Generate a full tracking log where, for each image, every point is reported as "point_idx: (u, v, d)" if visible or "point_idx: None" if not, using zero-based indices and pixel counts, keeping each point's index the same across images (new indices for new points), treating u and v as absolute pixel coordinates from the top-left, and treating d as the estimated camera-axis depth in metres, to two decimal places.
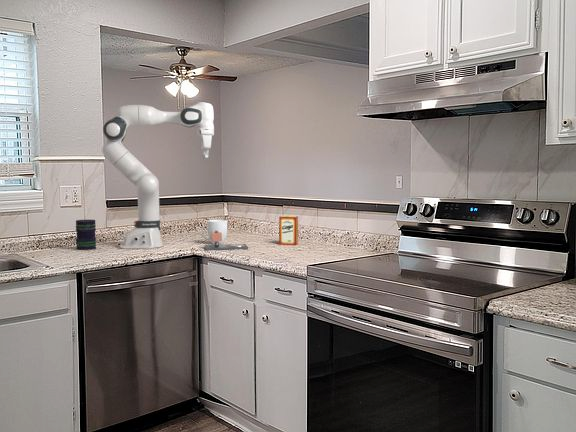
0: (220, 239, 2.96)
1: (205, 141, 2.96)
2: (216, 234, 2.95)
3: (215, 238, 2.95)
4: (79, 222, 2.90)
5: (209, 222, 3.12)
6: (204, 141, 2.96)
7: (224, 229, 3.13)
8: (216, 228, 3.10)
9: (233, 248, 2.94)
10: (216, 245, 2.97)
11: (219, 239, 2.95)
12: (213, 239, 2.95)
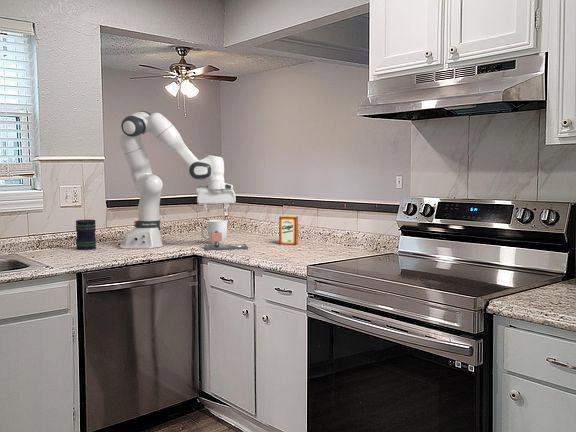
0: (220, 239, 2.96)
1: None
2: (216, 234, 2.95)
3: (215, 238, 2.95)
4: (79, 222, 2.90)
5: (209, 222, 3.12)
6: None
7: (224, 229, 3.13)
8: (216, 228, 3.10)
9: (233, 248, 2.94)
10: (216, 245, 2.97)
11: (219, 239, 2.95)
12: (213, 239, 2.95)
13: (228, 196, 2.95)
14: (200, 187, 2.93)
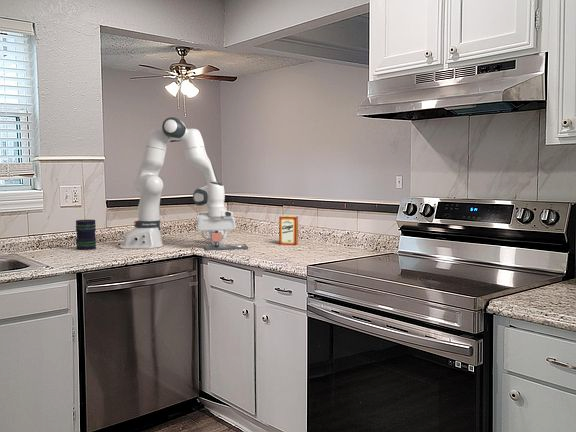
0: (220, 239, 2.96)
1: (235, 223, 2.98)
2: (216, 234, 2.95)
3: (215, 238, 2.95)
4: (79, 222, 2.90)
5: None
6: (235, 223, 2.98)
7: None
8: None
9: (233, 248, 2.94)
10: (216, 245, 2.97)
11: (219, 239, 2.95)
12: (213, 239, 2.95)
13: (228, 223, 2.97)
14: (200, 214, 2.94)
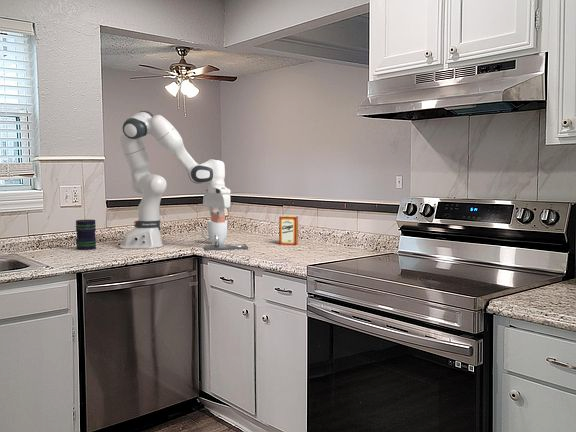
0: (216, 221, 2.95)
1: (225, 201, 2.88)
2: (214, 215, 2.96)
3: (213, 219, 2.97)
4: (79, 222, 2.90)
5: (209, 222, 3.12)
6: (225, 201, 2.88)
7: (224, 229, 3.13)
8: (216, 228, 3.10)
9: (233, 248, 2.94)
10: (216, 245, 2.97)
11: (215, 220, 2.96)
12: (211, 219, 2.98)
13: (220, 201, 2.90)
14: (206, 190, 3.02)
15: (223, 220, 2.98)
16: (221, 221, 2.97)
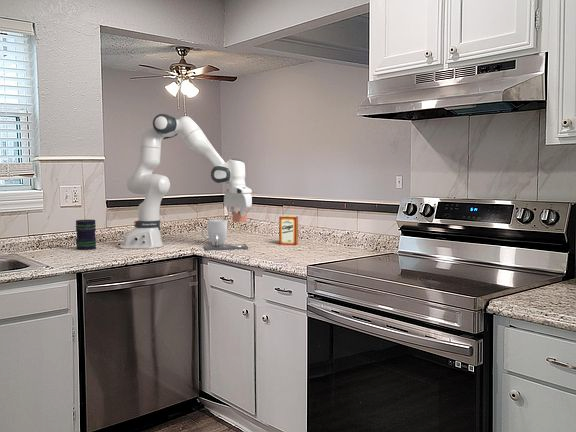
0: (238, 220, 2.98)
1: (247, 201, 2.90)
2: (235, 214, 2.99)
3: (234, 218, 2.99)
4: (79, 222, 2.90)
5: (209, 222, 3.12)
6: (246, 201, 2.90)
7: (224, 229, 3.13)
8: (216, 228, 3.10)
9: (233, 248, 2.94)
10: (216, 245, 2.97)
11: (237, 220, 2.98)
12: (233, 219, 3.00)
13: (241, 200, 2.93)
14: (227, 190, 3.04)
15: (244, 219, 3.00)
16: (243, 220, 2.99)
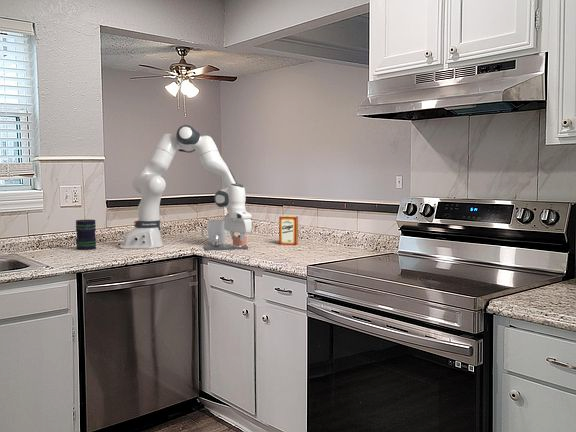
0: (238, 244, 2.98)
1: (247, 226, 2.91)
2: (235, 238, 2.99)
3: (235, 242, 3.00)
4: (79, 222, 2.90)
5: (209, 222, 3.12)
6: (246, 226, 2.91)
7: (224, 229, 3.13)
8: (216, 228, 3.10)
9: (233, 248, 2.94)
10: (216, 245, 2.97)
11: (237, 243, 2.99)
12: (233, 243, 3.01)
13: (241, 226, 2.94)
14: (227, 214, 3.05)
15: (245, 243, 3.01)
16: (243, 244, 3.00)
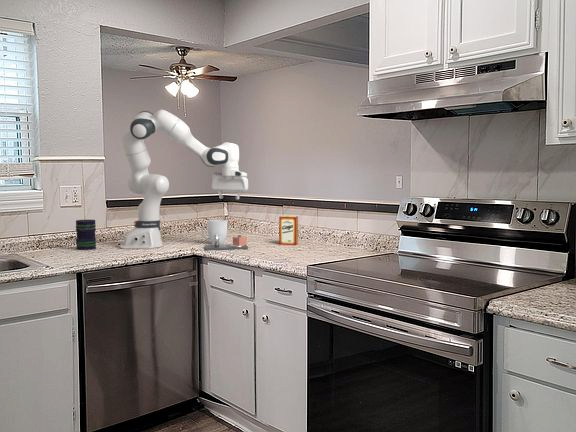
0: (238, 244, 2.98)
1: (246, 184, 2.96)
2: (235, 238, 2.99)
3: (235, 242, 3.00)
4: (79, 222, 2.90)
5: (209, 222, 3.12)
6: (245, 183, 2.95)
7: (224, 229, 3.13)
8: (216, 228, 3.10)
9: (233, 248, 2.94)
10: (216, 245, 2.97)
11: (237, 243, 2.99)
12: (233, 243, 3.01)
13: (239, 183, 2.96)
14: (216, 173, 3.02)
15: (245, 243, 3.01)
16: (243, 244, 3.00)
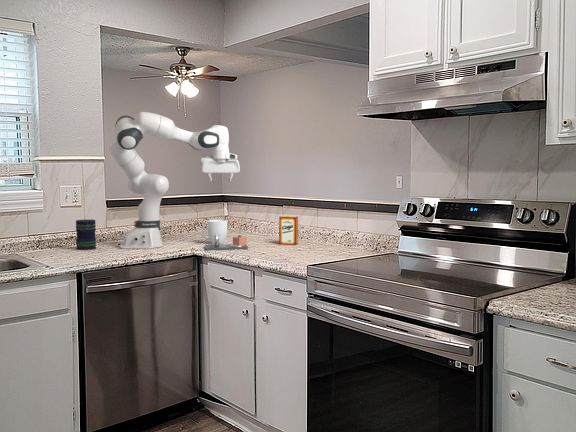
0: (238, 244, 2.98)
1: (239, 166, 3.02)
2: (235, 238, 2.99)
3: (235, 242, 3.00)
4: (79, 222, 2.90)
5: (209, 222, 3.12)
6: None
7: (224, 229, 3.13)
8: (216, 228, 3.10)
9: (233, 248, 2.94)
10: (216, 245, 2.97)
11: (237, 243, 2.99)
12: (233, 243, 3.01)
13: (232, 166, 3.00)
14: (205, 156, 2.98)
15: (245, 243, 3.01)
16: (243, 244, 3.00)
